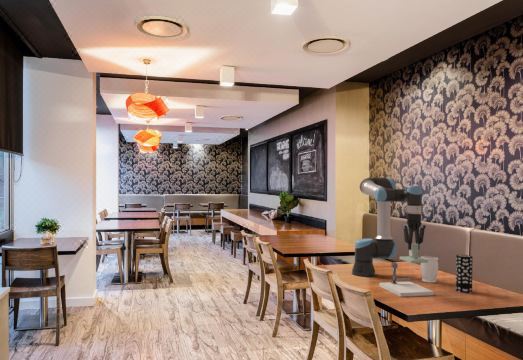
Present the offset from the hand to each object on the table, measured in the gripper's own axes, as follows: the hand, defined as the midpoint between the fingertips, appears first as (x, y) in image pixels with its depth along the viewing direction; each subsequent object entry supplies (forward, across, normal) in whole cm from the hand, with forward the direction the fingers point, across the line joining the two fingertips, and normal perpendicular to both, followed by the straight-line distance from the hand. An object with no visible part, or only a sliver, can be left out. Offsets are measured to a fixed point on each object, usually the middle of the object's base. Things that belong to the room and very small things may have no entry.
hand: (413, 255), depth 230 cm
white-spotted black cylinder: (+21, +31, -1) cm, 37 cm away
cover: (+3, 0, 0) cm, 3 cm away
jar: (+21, +25, +24) cm, 40 cm away
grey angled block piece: (+18, -1, +12) cm, 22 cm away
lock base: (+21, -2, +4) cm, 21 cm away
